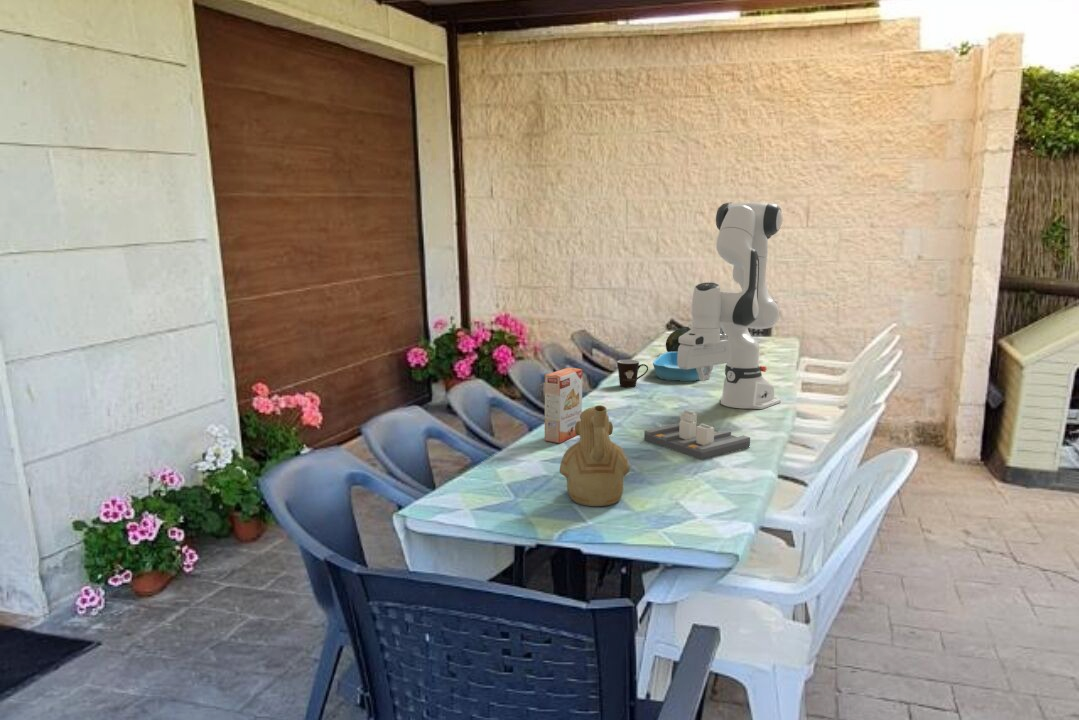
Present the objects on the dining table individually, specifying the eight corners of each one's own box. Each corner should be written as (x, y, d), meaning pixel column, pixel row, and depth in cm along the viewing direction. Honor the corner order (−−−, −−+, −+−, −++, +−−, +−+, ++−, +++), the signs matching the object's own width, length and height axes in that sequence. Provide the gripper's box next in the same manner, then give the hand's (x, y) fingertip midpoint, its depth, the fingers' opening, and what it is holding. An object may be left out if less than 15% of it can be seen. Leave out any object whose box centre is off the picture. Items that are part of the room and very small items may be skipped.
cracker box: (560, 444, 237) (560, 376, 233) (543, 441, 240) (543, 374, 236) (583, 433, 249) (583, 368, 245) (566, 430, 252) (566, 366, 248)
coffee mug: (614, 387, 312) (614, 362, 310) (620, 383, 320) (620, 359, 318) (643, 389, 308) (643, 364, 306) (648, 385, 316) (648, 360, 314)
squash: (658, 342, 385) (669, 321, 374) (686, 341, 390) (697, 321, 379) (667, 364, 377) (678, 345, 366) (695, 364, 382) (707, 344, 370)
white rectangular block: (686, 435, 236) (686, 417, 235) (696, 438, 233) (696, 420, 232) (679, 437, 235) (679, 419, 234) (688, 440, 231) (689, 422, 230)
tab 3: (703, 441, 231) (704, 422, 230) (713, 444, 227) (714, 425, 226) (696, 442, 229) (696, 424, 228) (706, 446, 226) (706, 427, 225)
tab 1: (687, 426, 246) (687, 409, 245) (696, 429, 243) (696, 412, 242) (680, 428, 244) (680, 410, 243) (689, 431, 241) (689, 413, 240)
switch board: (691, 429, 252) (691, 420, 251) (749, 447, 232) (750, 437, 232) (644, 439, 241) (644, 430, 240) (701, 459, 221) (701, 449, 220)
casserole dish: (702, 385, 316) (703, 367, 314) (647, 381, 323) (648, 364, 322) (714, 368, 350) (715, 352, 348) (665, 365, 357) (665, 349, 356)
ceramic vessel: (623, 483, 202) (624, 389, 198) (635, 512, 183) (636, 408, 178) (557, 485, 202) (557, 390, 197) (562, 514, 183) (561, 409, 178)
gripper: (721, 331, 250) (719, 374, 253) (674, 338, 239) (673, 382, 241) (736, 334, 245) (734, 377, 248) (689, 340, 234) (688, 386, 236)
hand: (704, 380), depth 244 cm, fingers closed
